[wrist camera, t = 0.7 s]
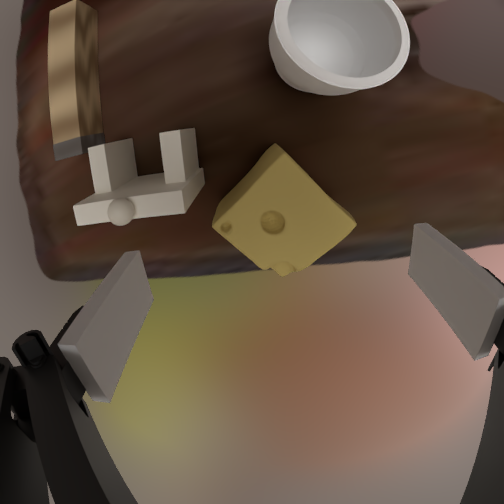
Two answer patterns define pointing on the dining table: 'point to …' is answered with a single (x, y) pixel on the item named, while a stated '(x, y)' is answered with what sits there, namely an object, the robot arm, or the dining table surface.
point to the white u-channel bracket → (141, 181)
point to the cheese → (281, 215)
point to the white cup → (338, 44)
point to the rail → (74, 79)
